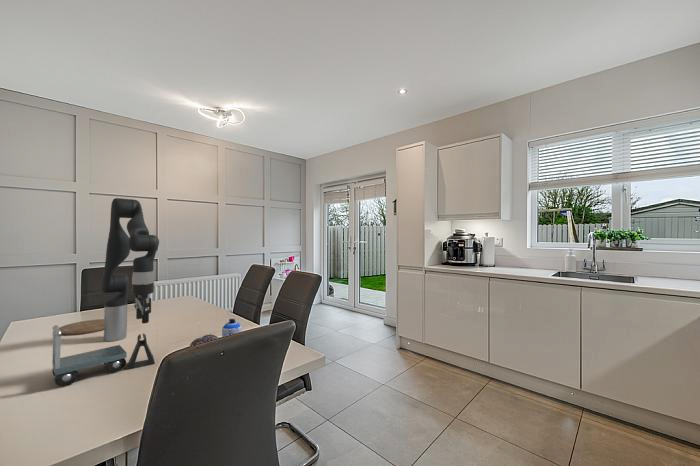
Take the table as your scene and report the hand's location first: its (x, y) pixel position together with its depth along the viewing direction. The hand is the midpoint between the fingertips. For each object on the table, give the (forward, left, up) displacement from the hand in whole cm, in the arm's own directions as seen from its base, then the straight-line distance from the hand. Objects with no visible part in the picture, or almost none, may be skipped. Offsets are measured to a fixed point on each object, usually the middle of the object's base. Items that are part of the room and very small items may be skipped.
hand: (142, 320), depth 121 cm
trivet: (-77, -8, -19) cm, 80 cm away
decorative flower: (+17, +17, -18) cm, 30 cm away
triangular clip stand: (0, 0, -18) cm, 18 cm away
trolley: (-4, -16, -18) cm, 24 cm away
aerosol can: (+31, +23, -18) cm, 43 cm away
